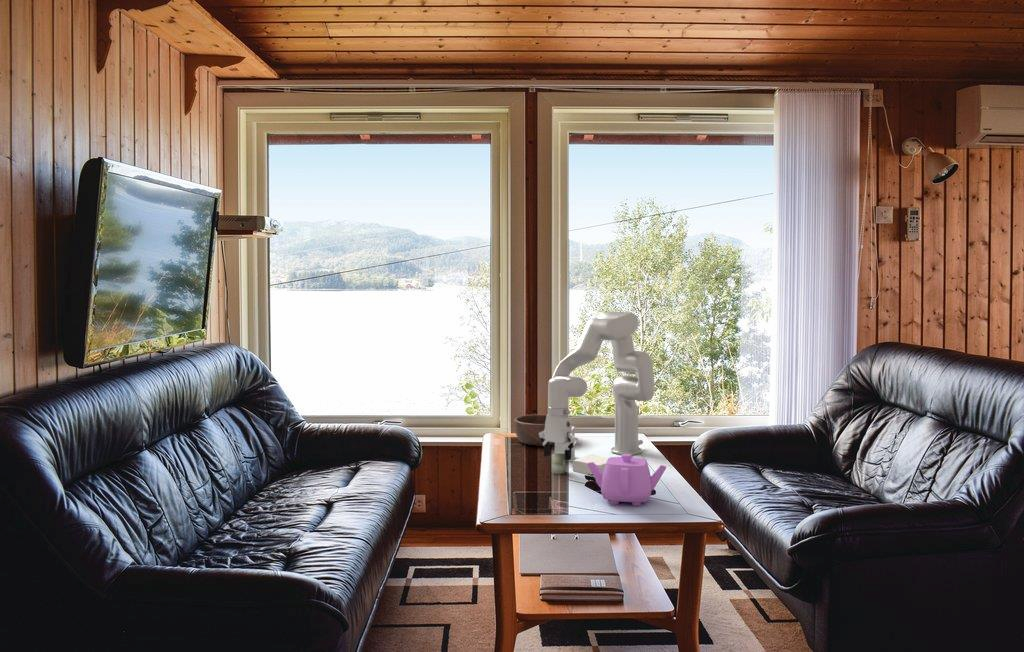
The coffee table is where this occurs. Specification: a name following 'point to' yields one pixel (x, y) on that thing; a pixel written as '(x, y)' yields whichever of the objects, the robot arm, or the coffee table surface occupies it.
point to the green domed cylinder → (558, 462)
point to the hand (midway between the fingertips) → (557, 458)
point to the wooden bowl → (530, 428)
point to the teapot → (626, 479)
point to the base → (582, 463)
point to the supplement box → (562, 448)
